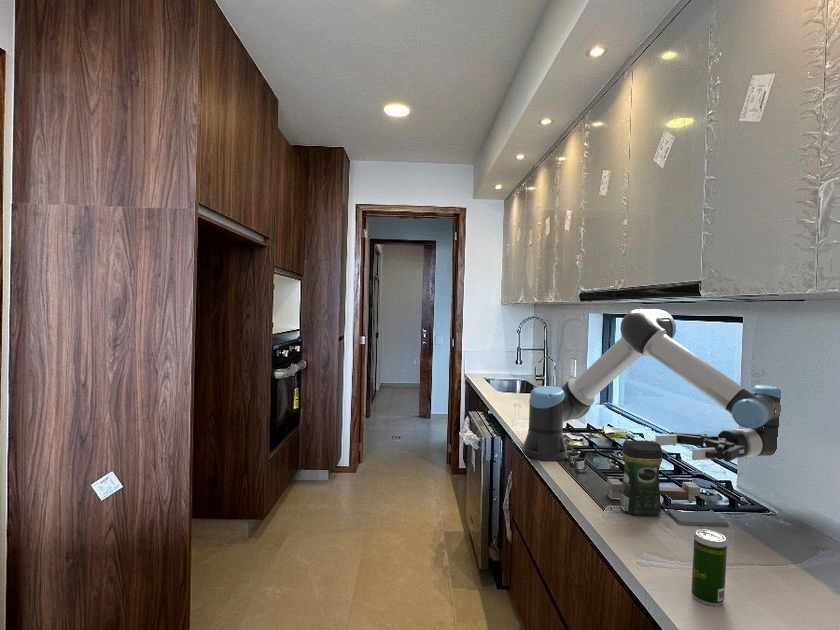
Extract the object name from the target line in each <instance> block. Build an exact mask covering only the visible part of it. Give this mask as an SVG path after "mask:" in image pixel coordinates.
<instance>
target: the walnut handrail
mask: <svg viewBox="0 0 840 630" xmlns="http://www.w3.org/2000/svg"><path fill="white" fill-rule="evenodd" d="M606 482H607V483H606V495H607V494H608V495H609V496H610V497H611V498H621V491H622V484H623V482H622V481H620V479H618V478H607V480H606ZM659 489H660V495H662V494H664V495H667V496H668V497H670V498H671V499H672V500H688V501H694V500H695V496H699V497H700V498H701V487H700V486H699V485H697V484H696V483H695V482H690V481H682V487H673V486H672V487H669V486H668V487H667V486H659ZM608 495H607V496H608Z"/></svg>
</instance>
